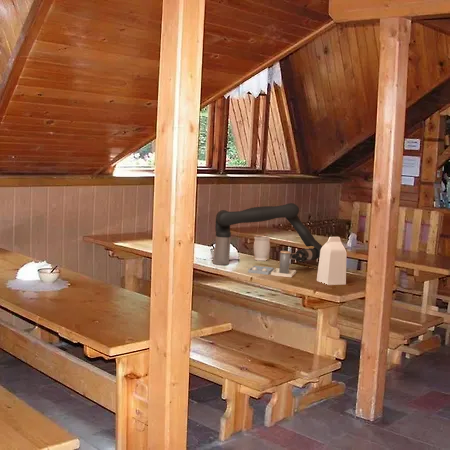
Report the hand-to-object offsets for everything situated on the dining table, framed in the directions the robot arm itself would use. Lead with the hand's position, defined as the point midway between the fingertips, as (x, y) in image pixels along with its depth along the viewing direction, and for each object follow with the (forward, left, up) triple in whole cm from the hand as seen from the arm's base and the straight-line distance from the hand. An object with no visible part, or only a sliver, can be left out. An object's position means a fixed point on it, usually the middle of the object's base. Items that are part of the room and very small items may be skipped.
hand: (290, 258), depth 394 cm
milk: (+26, -12, -9) cm, 31 cm away
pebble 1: (-19, -11, -9) cm, 23 cm away
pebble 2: (-13, -11, -9) cm, 19 cm away
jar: (-26, +37, -9) cm, 46 cm away
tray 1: (-16, -6, -9) cm, 19 cm away
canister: (-2, -5, -9) cm, 10 cm away
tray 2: (-2, -6, -9) cm, 11 cm away
